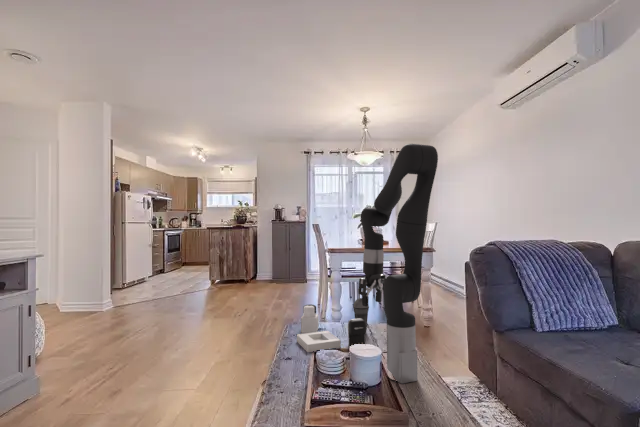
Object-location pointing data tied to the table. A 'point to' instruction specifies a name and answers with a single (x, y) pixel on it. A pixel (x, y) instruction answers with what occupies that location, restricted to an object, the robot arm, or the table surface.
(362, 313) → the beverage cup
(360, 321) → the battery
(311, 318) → the medicine bottle
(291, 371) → the table surface
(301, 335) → the charging dock
